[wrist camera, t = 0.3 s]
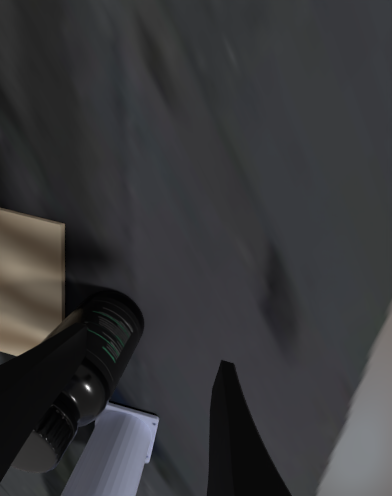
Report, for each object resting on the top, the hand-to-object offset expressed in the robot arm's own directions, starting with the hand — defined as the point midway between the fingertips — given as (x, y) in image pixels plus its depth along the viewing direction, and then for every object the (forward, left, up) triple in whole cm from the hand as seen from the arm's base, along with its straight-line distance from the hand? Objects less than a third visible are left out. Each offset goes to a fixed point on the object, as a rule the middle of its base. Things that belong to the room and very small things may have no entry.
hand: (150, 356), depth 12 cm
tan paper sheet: (-7, +18, -10) cm, 22 cm away
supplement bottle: (-7, +6, -10) cm, 14 cm away
